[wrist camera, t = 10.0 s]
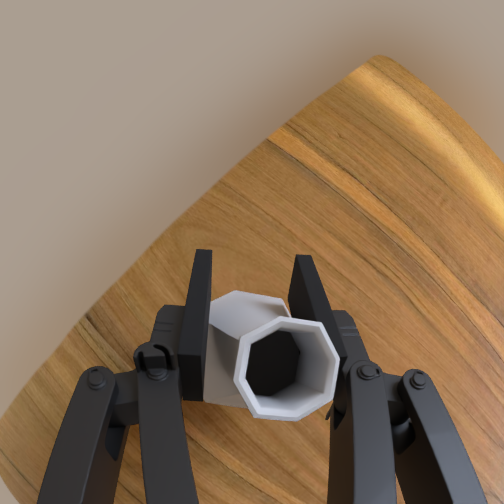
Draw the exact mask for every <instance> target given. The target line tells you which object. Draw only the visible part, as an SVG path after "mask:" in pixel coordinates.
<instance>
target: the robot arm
mask: <svg viewBox="0 0 504 504" xmlns="http://www.w3.org/2000/svg"><path fill="white" fill-rule="evenodd" d="M211 277H212V250H204V249H196V254H195V258H194V263H193V268H192V273H191V278H190V284H189V289H188V294H187V299H186V305H185V306H177V305H164V306H163V307H162V308H161V309H160V310H159V311H158V313H157V316H156V320H155V324H154V327H153V331H152V335H151V339H150V342H146V343H144V344H142V345H140V346H139V347H138V348H137V349H136V350H135V352H134V356H133V358H134V362H135V366H136V369H135V370H133V371H129V372H124V373H117V374H113V372H112V371H111V370H109V369H108V368H105V367H103V366H95V367H92V368H89V369H87V370H86V371H84V372H83V374H82V375H81V376H80V378H79V381H78V383H77V386H76V388H75V391H74V393H73V396H72V398H71V401H70V403H69V406H68V408H67V411H66V414H65V416H64V419H63V422H62V424H61V427H60V430H59V433H58V435H57V438H56V441H55V444H54V447H53V450H52V453H51V456H50V459H49V462H48V466H47V469H46V472H45V475H44V479H43V482H42V486H41V489H40V493H39V496H38V500H37V504H113V502H114V497H115V492H116V487H117V482H118V477H119V472H120V467H121V463H122V458H123V454H124V449H125V445H126V441H127V436H128V432H129V428H130V425H134V424H139V433H140V447H141V459H142V469H143V479H144V487H145V495H146V503H147V504H199V501H198V496H197V491H196V486H195V482H194V477H193V472H192V466H191V461H190V456H189V450H188V444H187V438H186V432H185V426H184V420H183V413H182V407H181V402H182V397H183V400H188V401H202V402H203V393H204V378H205V364H206V350H207V338H208V325H209V314H210V302H211ZM288 303H289V307H290V312H291V317H292V318H296V319H302V320H309V321H315V322H322V324H323V326H324V328H325V330H326V332H327V334H328V336H329V338H330V340H331V342H332V344H333V346H334V348H335V350H336V352H337V354H338V356H339V358H340V361H339V368H338V374H337V380H336V386H335V391H334V397H333V401H334V402H333V404H332V406H331V407H330V409H329V411H328V413H327V415H326V419H325V420H328V419H329V417H330V455H329V479H328V496H327V504H397V495H396V477H395V473H396V476H397V479H398V482H399V485H400V488H401V491H402V494H403V497H404V500H405V504H488V503H487V500H486V497H485V495H484V492H483V490H482V487H481V485H480V482H479V480H478V477H477V475H476V472H475V470H474V468H473V465H472V463H471V461H470V458H469V456H468V454H467V451H466V449H465V447H464V445H463V443H462V440H461V438H460V436H459V434H458V432H457V430H456V427H455V425H454V423H453V421H452V419H451V417H450V415H449V413H448V411H447V409H446V407H445V405H444V403H443V401H442V399H441V397H440V395H439V393H438V391H437V389H436V387H435V386H434V384H433V382H432V380H431V378H430V377H429V376H428V374H426V373H425V372H423V371H421V370H418V369H410V370H408V371H406V372H405V374H404V375H403V376H397V375H391V374H387V373H383V372H382V369H381V368H380V367H379V366H378V365H377V364H375V363H374V362H372V361H370V359H369V357H368V354H367V352H366V349H365V347H364V344H363V342H362V339H361V337H360V336H359V332H358V329H356V325H355V322H354V320H353V318H352V317H351V316H350V315H349V314H348V313H347V312H346V311H345V310H331V307H330V304H329V301H328V299H327V296H326V293H325V291H324V288H323V285H322V283H321V280H320V278H319V275H318V272H317V270H316V267H315V265H314V262H313V259H312V257H311V255H297V254H296V257H295V262H294V268H293V273H292V278H291V283H290V289H289V294H288ZM298 350H299V349H298ZM299 355H300V350H299Z"/></svg>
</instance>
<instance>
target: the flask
mask: <svg viewBox="0 0 504 504" xmlns="http://www.w3.org/2000/svg"><path fill="white" fill-rule="evenodd" d="M298 349H299V350H300V355H299V350H298ZM339 361H340V358H339V356H338V354H337V352H336V350H335V348H334V346H333V344H332V342H331V340H330V338H329V336H328V334H327V332H326V330H325V328H324V326H323V324H322V322H315V321H309V320H302V319H296V318H292V317H291V315H290V314H289V312H288V310H287V308H286V306H285V304H284V302H283V300H282V299H280V298H275V297H269V296H263V295H258V294H253V293H247V292H242V291H236V290H234V291H232V292H230V293H228V294H226V295H224V296H222V297H220V298H218V299H216V300H214V301H212V302H210V314H209V325H208V338H207V350H206V364H205V378H204V393H203V399H204V401H205V402H207V403H213V404H219V405H226V406H233V407H240V408H248V409H249V411H250V412H251V414H252V416H253V417H254V418H261V419H272V420H284V421H298V420H300V419H302V418H303V417H305V416H307V415H309V414H310V413H312V412H314V411H315V410H317V409H318V408H320V407H322V406H323V405H325V404H326V403H328V402H330V401H331V400H333V397H334V391H335V386H336V380H337V374H338V368H339Z"/></svg>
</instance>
